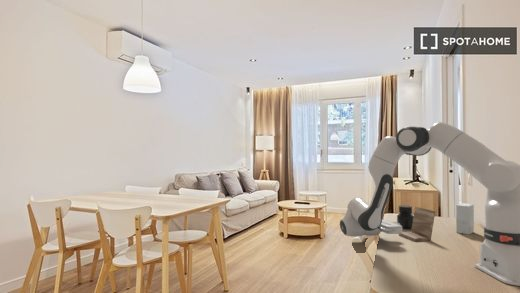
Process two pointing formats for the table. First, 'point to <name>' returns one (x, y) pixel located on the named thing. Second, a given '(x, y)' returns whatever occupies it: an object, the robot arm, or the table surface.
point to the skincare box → (465, 218)
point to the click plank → (423, 222)
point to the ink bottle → (405, 217)
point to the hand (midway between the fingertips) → (398, 224)
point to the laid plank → (414, 236)
